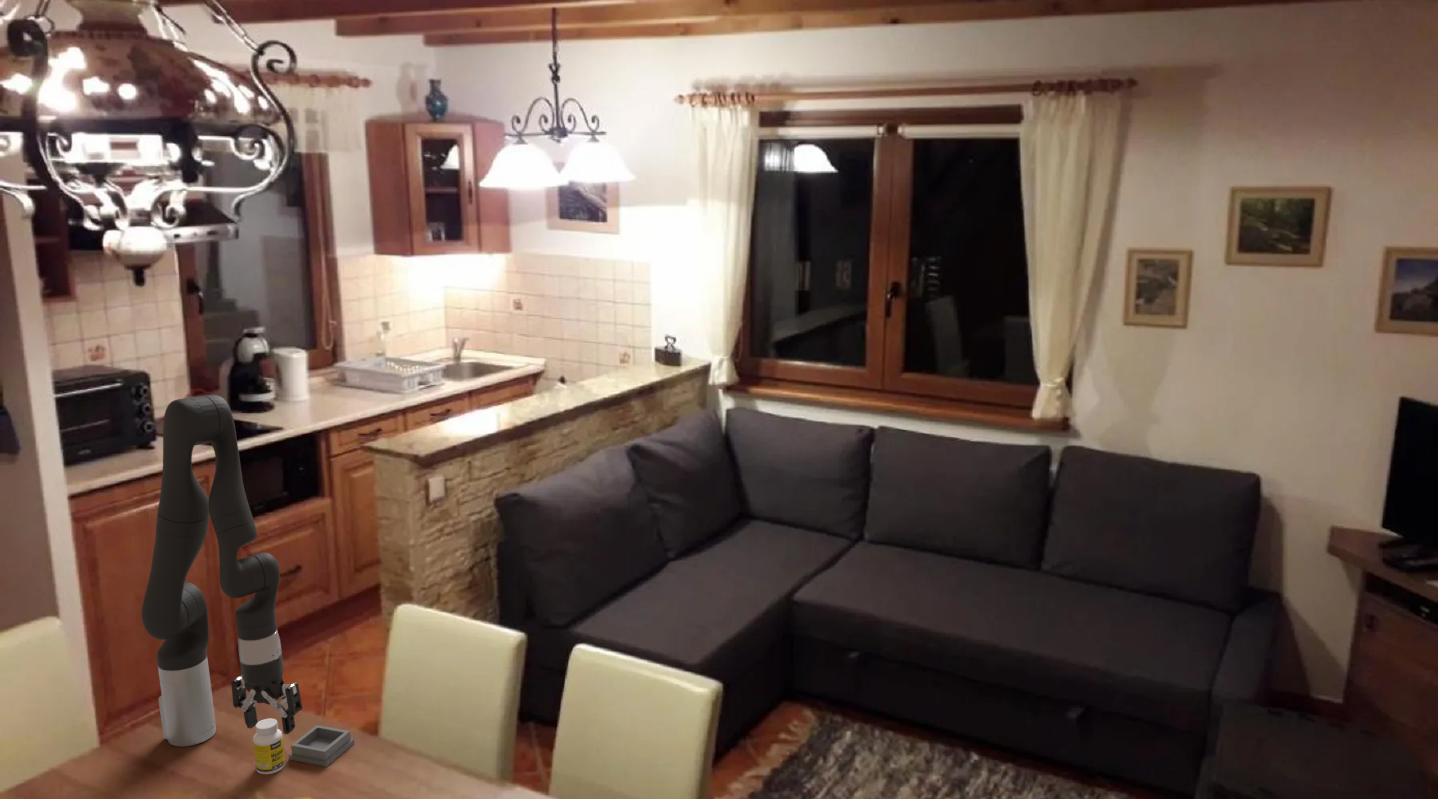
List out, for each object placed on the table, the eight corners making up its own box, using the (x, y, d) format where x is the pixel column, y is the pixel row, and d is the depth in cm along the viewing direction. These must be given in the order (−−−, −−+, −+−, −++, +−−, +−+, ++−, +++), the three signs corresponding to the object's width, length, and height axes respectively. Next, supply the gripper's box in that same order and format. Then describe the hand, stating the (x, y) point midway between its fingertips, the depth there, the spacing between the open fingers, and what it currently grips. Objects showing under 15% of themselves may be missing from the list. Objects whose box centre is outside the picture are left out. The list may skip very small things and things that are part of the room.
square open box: (289, 759, 217) (287, 746, 216) (317, 736, 225) (316, 723, 224) (326, 766, 214) (325, 753, 213) (354, 743, 222) (353, 730, 222)
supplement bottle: (275, 776, 211) (270, 732, 209) (250, 773, 212) (245, 729, 210) (291, 761, 216) (286, 717, 214) (266, 758, 217) (262, 715, 215)
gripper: (216, 658, 207) (227, 734, 211) (278, 667, 203) (288, 743, 207) (243, 641, 214) (253, 715, 218) (304, 649, 210) (313, 724, 214)
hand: (270, 729), depth 212 cm, fingers open, 8 cm apart
